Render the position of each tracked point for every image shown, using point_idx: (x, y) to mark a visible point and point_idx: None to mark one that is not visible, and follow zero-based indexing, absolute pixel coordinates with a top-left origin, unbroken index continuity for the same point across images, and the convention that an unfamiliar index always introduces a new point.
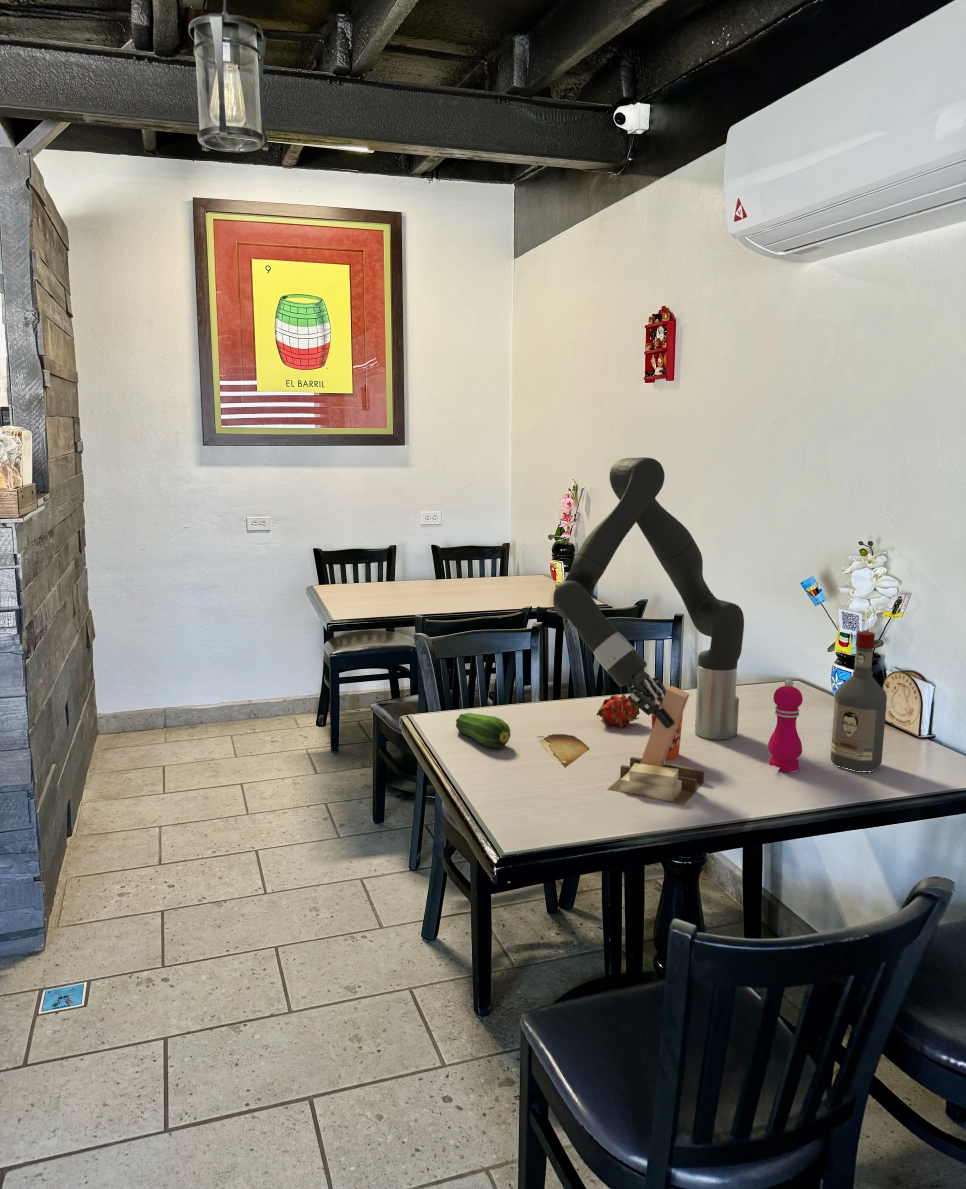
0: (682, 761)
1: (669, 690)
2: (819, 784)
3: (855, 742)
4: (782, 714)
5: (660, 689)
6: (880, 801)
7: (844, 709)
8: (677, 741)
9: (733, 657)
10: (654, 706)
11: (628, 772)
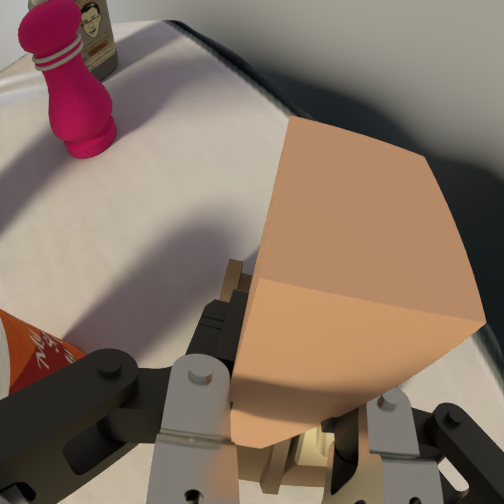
0: (72, 333)
1: (475, 288)
2: (166, 96)
3: (104, 36)
4: (72, 51)
5: (166, 472)
6: (216, 53)
7: (78, 5)
8: (55, 339)
9: None
10: (466, 420)
11: (315, 464)
